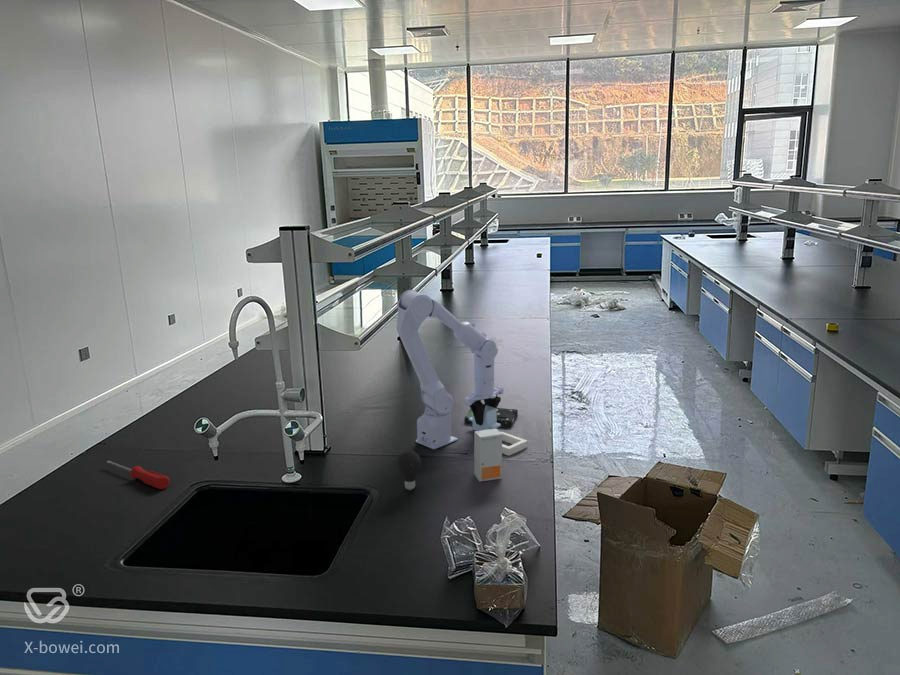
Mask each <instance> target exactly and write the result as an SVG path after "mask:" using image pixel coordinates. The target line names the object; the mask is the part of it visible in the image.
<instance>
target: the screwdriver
mask: <svg viewBox="0 0 900 675" xmlns="http://www.w3.org/2000/svg"><path fill="white" fill-rule="evenodd" d="M106 463H108V464H110V465H113V466H116V467H118V468H121V469H124V470H126V471H129V472H130V474H129V475H130V477H131V478H132V479H134V480H137V479H139V480H141V481H142V482H143V483H144V484H146V485H148V486H151V487H153V488H156V489H158V490H165V489H166V488H167V487H168V486H169V484H170V478H169V477H168V476H167V475H163V474H162V473H158V472H156V471H154V470H145V469H143V468H142V467H141V466H140V465H136V466H134V467H132V468H129V467H127V466H124V465H120V464H118V463H116V462H113V461H111V460H107V461H106Z"/></svg>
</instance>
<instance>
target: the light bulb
mask: <svg viewBox="0 0 900 675" xmlns="http://www.w3.org/2000/svg"><path fill="white" fill-rule="evenodd" d="M421 466H422V460H421V457H420V455H419V454H418V453H417V452H415V451H414V450H411V449H410V450H406V451H403V452H401V453H400V454H399V455H398V458H397V468H398V470H399V472H400V473H401V475H402V477H403V480H404V487H405V489H406V490H408V491H412V490H413V489H415V487H416V478H417V474H418V472H419V470H420V469H421Z"/></svg>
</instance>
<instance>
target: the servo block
mask: <svg viewBox="0 0 900 675" xmlns="http://www.w3.org/2000/svg"><path fill="white" fill-rule="evenodd" d="M497 408H498V407H497ZM497 408H494V407H491V406H488V405H486V407H485V410H484V414H483V424H482V425H478V424H476V422H475V418H474V415H473V412H472V417H471V418H469V420H470V421H472V422H473V424H472V430H474V431H482V430H490V429H497V430H498V428H499V426H501V424H499V423H497Z"/></svg>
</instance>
